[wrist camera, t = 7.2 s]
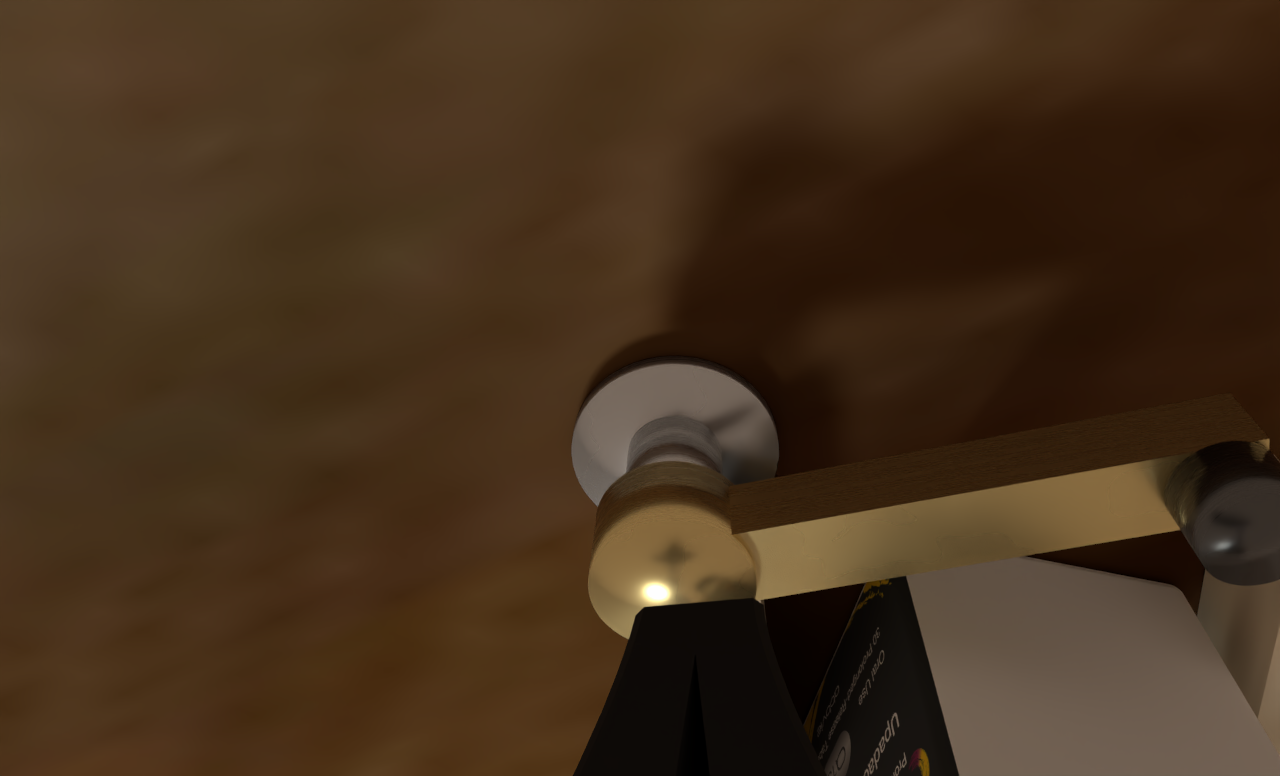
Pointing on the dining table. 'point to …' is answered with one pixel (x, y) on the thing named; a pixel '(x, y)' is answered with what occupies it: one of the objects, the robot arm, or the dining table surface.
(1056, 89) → the dining table surface
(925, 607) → the medicine bottle
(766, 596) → the brass drawer handle
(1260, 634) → the cradle
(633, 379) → the pivot post
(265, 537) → the dining table surface
